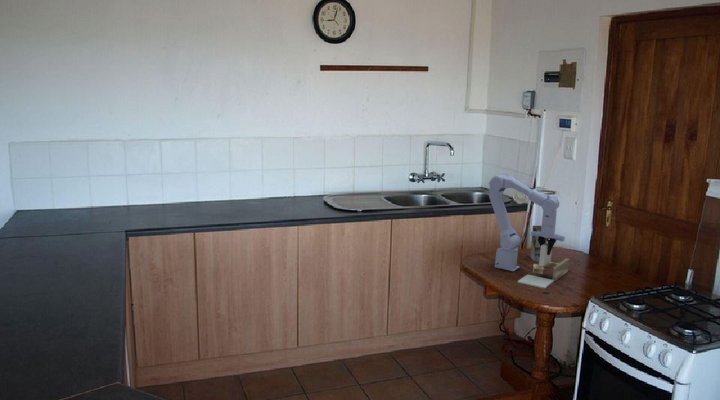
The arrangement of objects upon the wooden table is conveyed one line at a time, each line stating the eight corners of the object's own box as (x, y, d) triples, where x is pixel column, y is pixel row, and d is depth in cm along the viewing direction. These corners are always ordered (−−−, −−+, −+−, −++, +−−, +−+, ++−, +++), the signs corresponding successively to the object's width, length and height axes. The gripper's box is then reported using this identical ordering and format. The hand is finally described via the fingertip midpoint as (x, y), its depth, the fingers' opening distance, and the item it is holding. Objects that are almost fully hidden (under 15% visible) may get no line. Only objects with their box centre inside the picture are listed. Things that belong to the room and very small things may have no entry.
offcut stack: (531, 273, 276) (532, 268, 276) (533, 268, 284) (533, 263, 283) (542, 275, 275) (543, 270, 274) (543, 269, 282) (544, 265, 282)
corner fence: (523, 274, 274) (525, 261, 273) (538, 264, 289) (539, 252, 288) (555, 281, 266) (557, 268, 265) (568, 270, 281) (570, 258, 280)
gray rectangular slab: (538, 265, 267) (540, 245, 265) (546, 260, 275) (548, 241, 274) (543, 266, 266) (545, 246, 264) (550, 261, 274) (552, 241, 272)
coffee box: (547, 262, 293) (550, 230, 289) (533, 261, 293) (536, 229, 290) (542, 256, 302) (545, 225, 298) (529, 256, 302) (532, 225, 299)
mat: (517, 282, 262) (517, 281, 262) (527, 275, 272) (527, 274, 272) (544, 288, 256) (544, 287, 256) (553, 281, 265) (553, 280, 265)
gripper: (529, 223, 268) (526, 252, 271) (562, 229, 260) (559, 259, 263) (534, 220, 274) (532, 249, 276) (567, 226, 265) (564, 255, 268)
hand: (545, 254), depth 270 cm, fingers closed on gray rectangular slab, 2 cm apart
